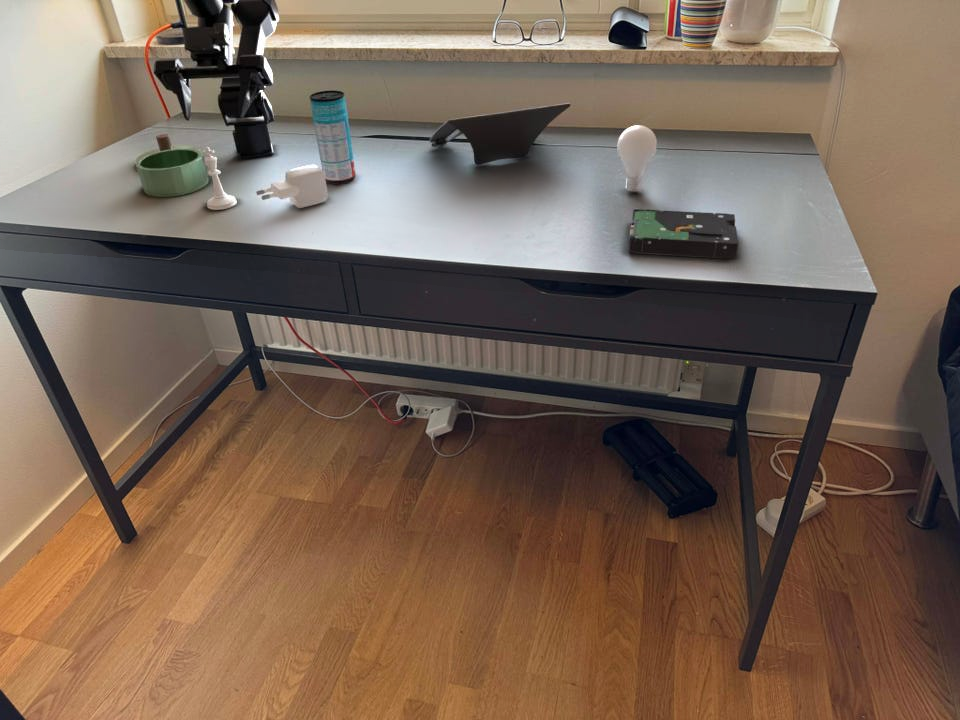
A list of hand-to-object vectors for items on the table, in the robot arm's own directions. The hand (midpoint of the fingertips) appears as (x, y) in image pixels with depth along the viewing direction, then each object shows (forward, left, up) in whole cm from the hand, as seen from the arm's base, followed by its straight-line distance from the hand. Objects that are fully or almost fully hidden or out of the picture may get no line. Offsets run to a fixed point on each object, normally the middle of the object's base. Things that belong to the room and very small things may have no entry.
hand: (213, 117), depth 123 cm
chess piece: (+2, +6, -13) cm, 15 cm away
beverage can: (-19, +2, -13) cm, 23 cm away
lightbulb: (-65, +28, -13) cm, 72 cm away
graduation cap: (-49, 0, -13) cm, 51 cm away
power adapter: (-10, +12, -13) cm, 21 cm away
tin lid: (+12, -21, -12) cm, 27 cm away
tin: (+10, -7, -13) cm, 17 cm away
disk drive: (-63, +48, -13) cm, 80 cm away
